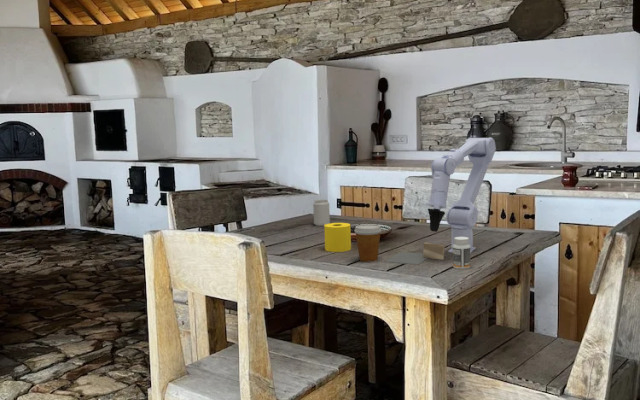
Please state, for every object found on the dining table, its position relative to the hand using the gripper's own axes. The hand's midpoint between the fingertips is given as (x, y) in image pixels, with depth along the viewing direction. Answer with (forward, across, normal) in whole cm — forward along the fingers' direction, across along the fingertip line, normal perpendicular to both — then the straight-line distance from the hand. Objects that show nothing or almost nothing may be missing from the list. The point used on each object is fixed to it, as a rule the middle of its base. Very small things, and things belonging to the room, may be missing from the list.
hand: (433, 231), depth 212 cm
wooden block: (+9, -4, +1) cm, 10 cm away
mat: (+11, -3, -7) cm, 13 cm away
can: (+3, -68, -54) cm, 87 cm away
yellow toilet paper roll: (+12, -17, -36) cm, 41 cm away
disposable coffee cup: (+14, -1, -21) cm, 25 cm away
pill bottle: (+11, +8, +11) cm, 17 cm away
